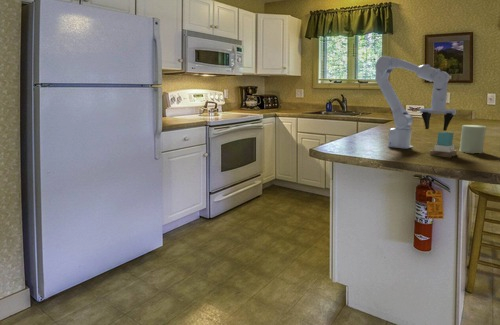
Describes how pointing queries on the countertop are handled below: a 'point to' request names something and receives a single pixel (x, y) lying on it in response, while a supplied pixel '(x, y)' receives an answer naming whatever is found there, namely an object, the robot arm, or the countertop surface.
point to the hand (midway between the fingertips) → (435, 129)
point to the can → (472, 138)
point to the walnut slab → (443, 153)
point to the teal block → (445, 138)
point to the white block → (444, 148)
